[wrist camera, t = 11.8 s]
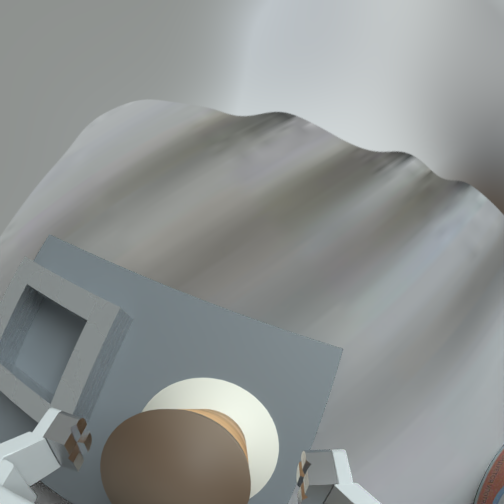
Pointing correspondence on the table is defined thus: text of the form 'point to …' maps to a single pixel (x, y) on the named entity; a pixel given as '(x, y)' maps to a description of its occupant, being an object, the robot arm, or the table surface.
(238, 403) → the base plate
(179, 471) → the plug
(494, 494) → the canned food
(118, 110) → the table surface
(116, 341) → the collar
